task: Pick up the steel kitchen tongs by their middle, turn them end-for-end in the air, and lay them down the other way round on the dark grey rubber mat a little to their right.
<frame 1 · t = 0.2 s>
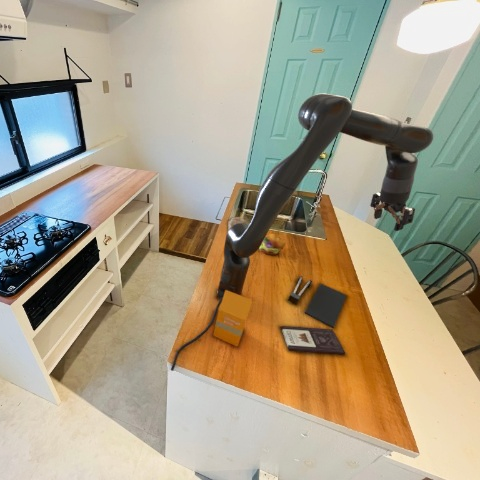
hand: (387, 223, 94), 31 cm above the counter, tool tilted 20°, fingers open, 8 cm apart
fish fossil: (236, 229, 147), on the counter
chocolate bar: (310, 340, 89), on the counter
mat: (326, 304, 102), on the counter
tongs: (291, 302, 102), on the counter
cheeseburger: (269, 250, 131), on the counter
orange juice: (228, 333, 91), on the counter
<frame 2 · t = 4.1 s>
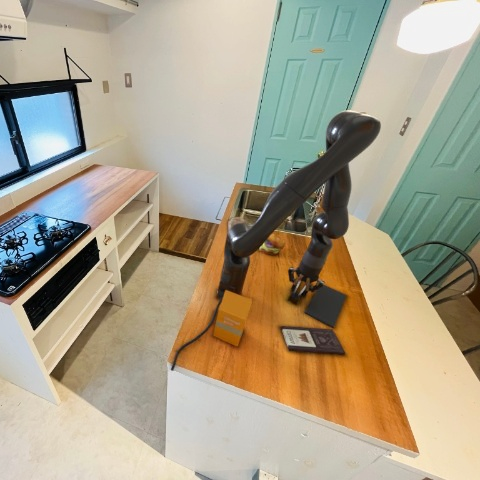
hand: (298, 292, 107), 0 cm above the counter, tool pointing down, fingers closed on tongs, 3 cm apart
tongs: (291, 302, 102), on the counter, touching gripper
everything else where it was.
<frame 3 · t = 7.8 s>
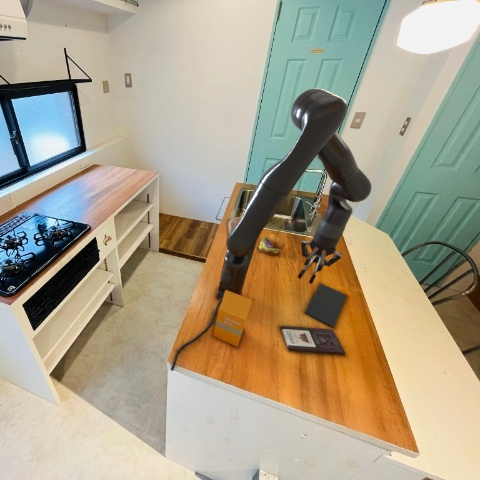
hand: (311, 268, 98), 14 cm above the counter, tool pointing down, fingers closed on tongs, 3 cm apart
tongs: (317, 260, 103), point 14 cm above the counter, touching gripper
everything else where it was.
when the fingers open (1 cm above the counter, at t = 12.0 s): tongs stays where it is, resting on mat.
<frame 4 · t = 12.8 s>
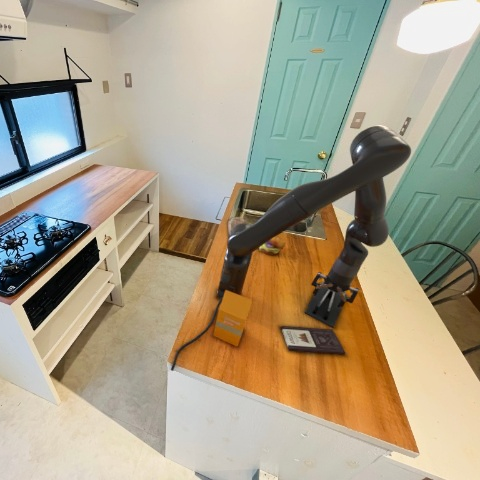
hand: (326, 300, 101), 2 cm above the counter, tool pointing down, fingers open, 8 cm apart
tongs: (330, 293, 106), point 1 cm above the counter, touching mat
everything else where it was.
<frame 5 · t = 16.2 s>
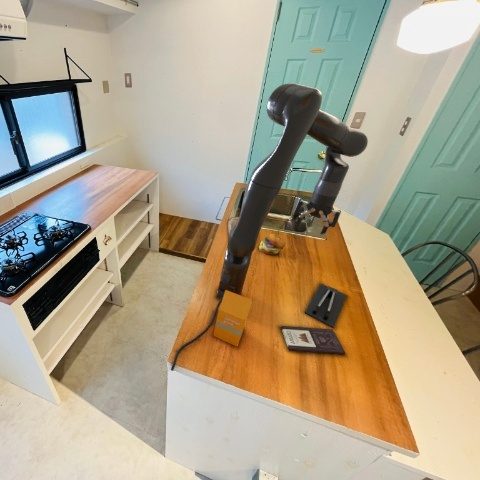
hand: (309, 229, 99), 26 cm above the counter, tool pointing down, fingers open, 8 cm apart
nothing on the counter moved.
at the end: tongs 0.1 cm from the target spot, point 0.6 cm above the counter; tongs touching mat; tongs tilted 0° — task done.
